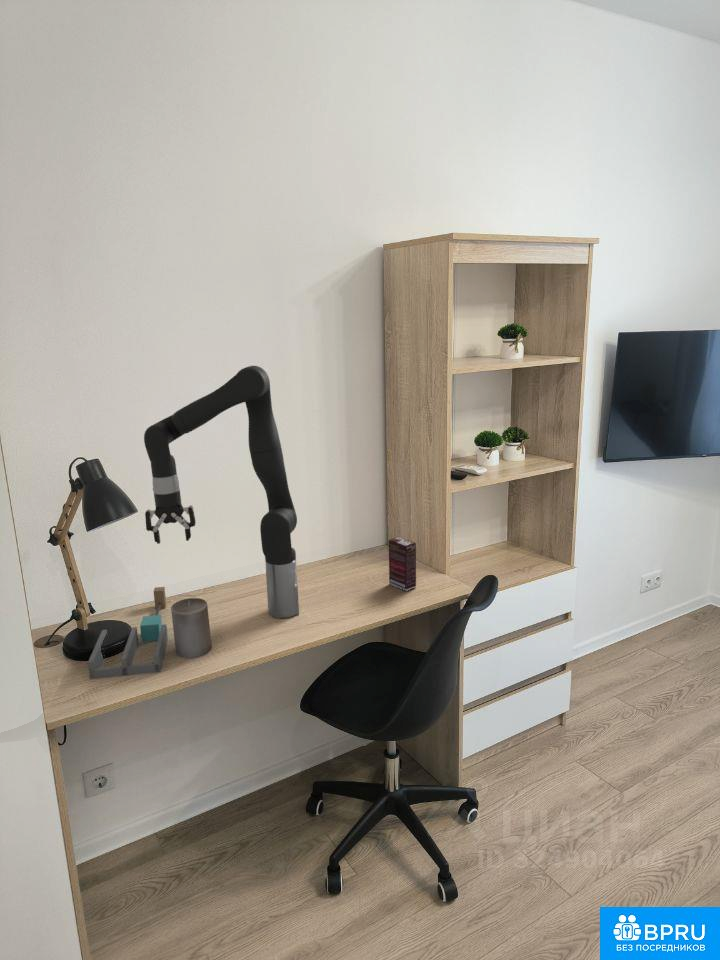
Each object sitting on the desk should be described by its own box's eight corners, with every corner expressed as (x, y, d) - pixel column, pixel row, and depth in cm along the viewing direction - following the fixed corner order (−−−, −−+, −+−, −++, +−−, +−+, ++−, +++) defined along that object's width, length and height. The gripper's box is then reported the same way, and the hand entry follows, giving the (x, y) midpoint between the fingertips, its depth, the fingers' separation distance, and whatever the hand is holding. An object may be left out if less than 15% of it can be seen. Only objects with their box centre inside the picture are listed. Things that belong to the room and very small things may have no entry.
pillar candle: (200, 638, 198) (195, 590, 194) (218, 650, 191) (213, 600, 187) (169, 650, 192) (163, 601, 188) (186, 663, 185) (180, 612, 181)
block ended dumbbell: (169, 604, 220) (167, 586, 219) (160, 640, 197) (158, 621, 195) (153, 605, 220) (151, 587, 218) (141, 641, 196) (139, 622, 195)
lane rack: (168, 640, 197) (166, 624, 196) (160, 673, 180) (158, 655, 179) (104, 646, 195) (102, 629, 194) (90, 679, 178) (87, 662, 177)
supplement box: (416, 588, 229) (416, 542, 225) (406, 592, 226) (406, 546, 222) (398, 580, 236) (398, 536, 231) (388, 584, 233) (387, 539, 228)
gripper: (192, 484, 210) (198, 535, 214) (143, 488, 208) (150, 540, 212) (189, 490, 203) (196, 543, 207) (139, 495, 201) (147, 548, 205)
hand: (173, 541), depth 210 cm, fingers open, 8 cm apart
